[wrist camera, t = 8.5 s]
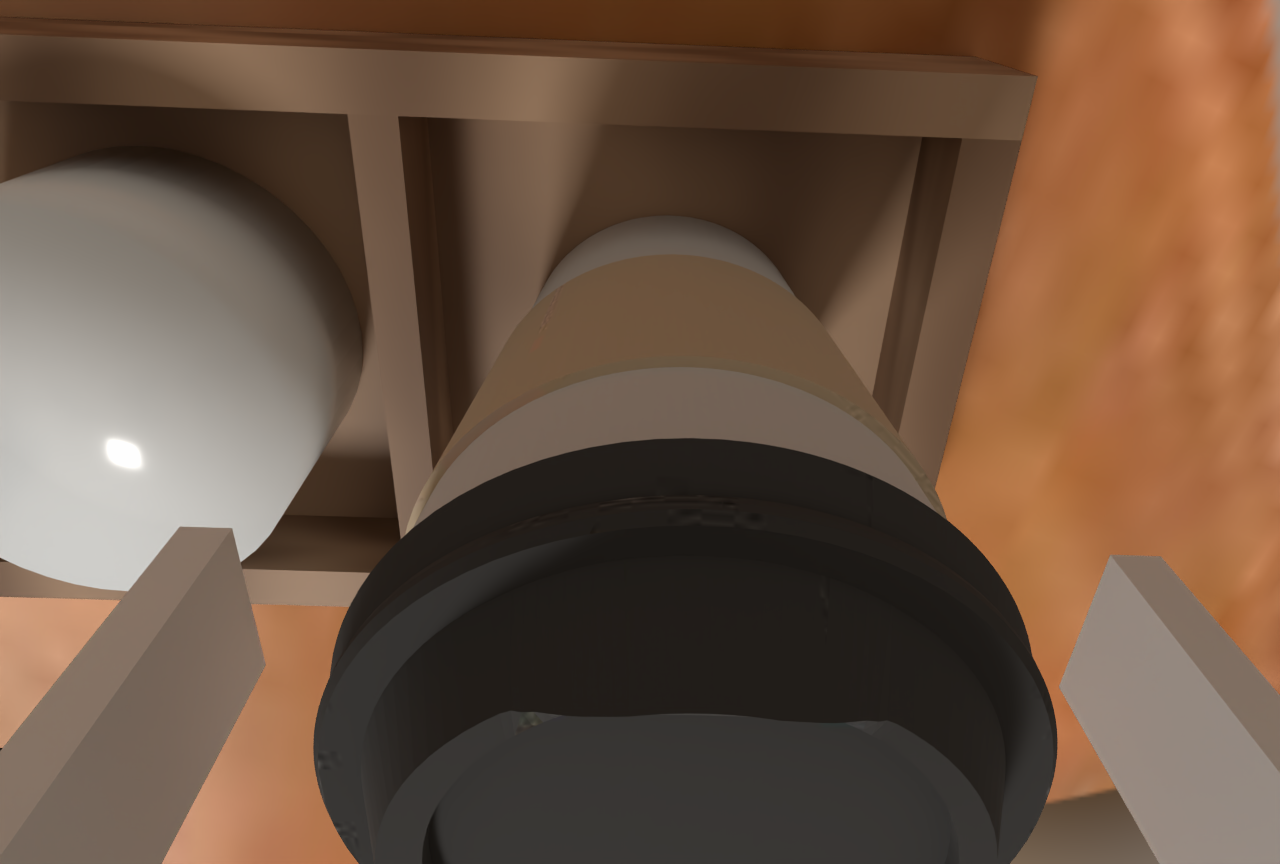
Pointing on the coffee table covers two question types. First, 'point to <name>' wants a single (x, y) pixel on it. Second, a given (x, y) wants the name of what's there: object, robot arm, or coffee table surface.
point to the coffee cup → (681, 604)
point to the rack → (540, 208)
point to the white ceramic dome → (159, 360)
